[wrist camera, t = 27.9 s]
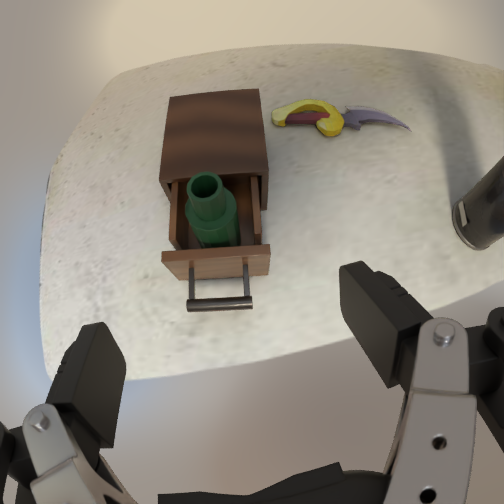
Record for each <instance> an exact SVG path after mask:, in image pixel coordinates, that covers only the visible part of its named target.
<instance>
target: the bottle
mask: <svg viewBox="0 0 504 504" xmlns="http://www.w3.org/2000/svg"><path fill="white" fill-rule="evenodd" d="M187 194H188V196H189V198H188V201H187V203H186V205H185V214H186V217H187V219H188V221H189V223H190V225H191V227H192V230H193V232H194V234H195V236H196V238H197V240H198V242H199V244H200V246H201V248H202V249H205V248H219V247H234V246H240V242H241V236H240V227H239V220H238V212H237V205H236V200H235V198H234V196H233V194H232V193H231V192H230V191H229V190H227V189H226V188H224V187H223V184H222V180H221V179H220V178H219V176H218V175H217V174H214V173H212V172H200V173H198V174H196V175H194V176H193V177H192V178H191V179H190V181H189V182H188V184H187Z"/></svg>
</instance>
